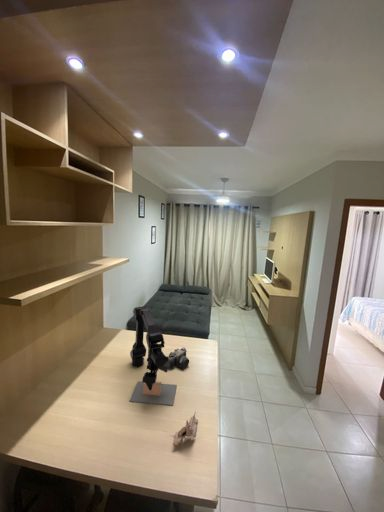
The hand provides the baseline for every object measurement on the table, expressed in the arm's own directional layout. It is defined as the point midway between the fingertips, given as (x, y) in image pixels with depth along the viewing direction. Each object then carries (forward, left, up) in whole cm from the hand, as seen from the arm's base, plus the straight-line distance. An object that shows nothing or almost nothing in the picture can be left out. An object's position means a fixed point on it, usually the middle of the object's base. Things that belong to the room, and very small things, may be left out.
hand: (152, 383), depth 113 cm
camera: (+11, +26, -7) cm, 29 cm away
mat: (+1, +1, -6) cm, 7 cm away
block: (0, 0, -6) cm, 6 cm away
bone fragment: (+18, -20, -8) cm, 28 cm away
